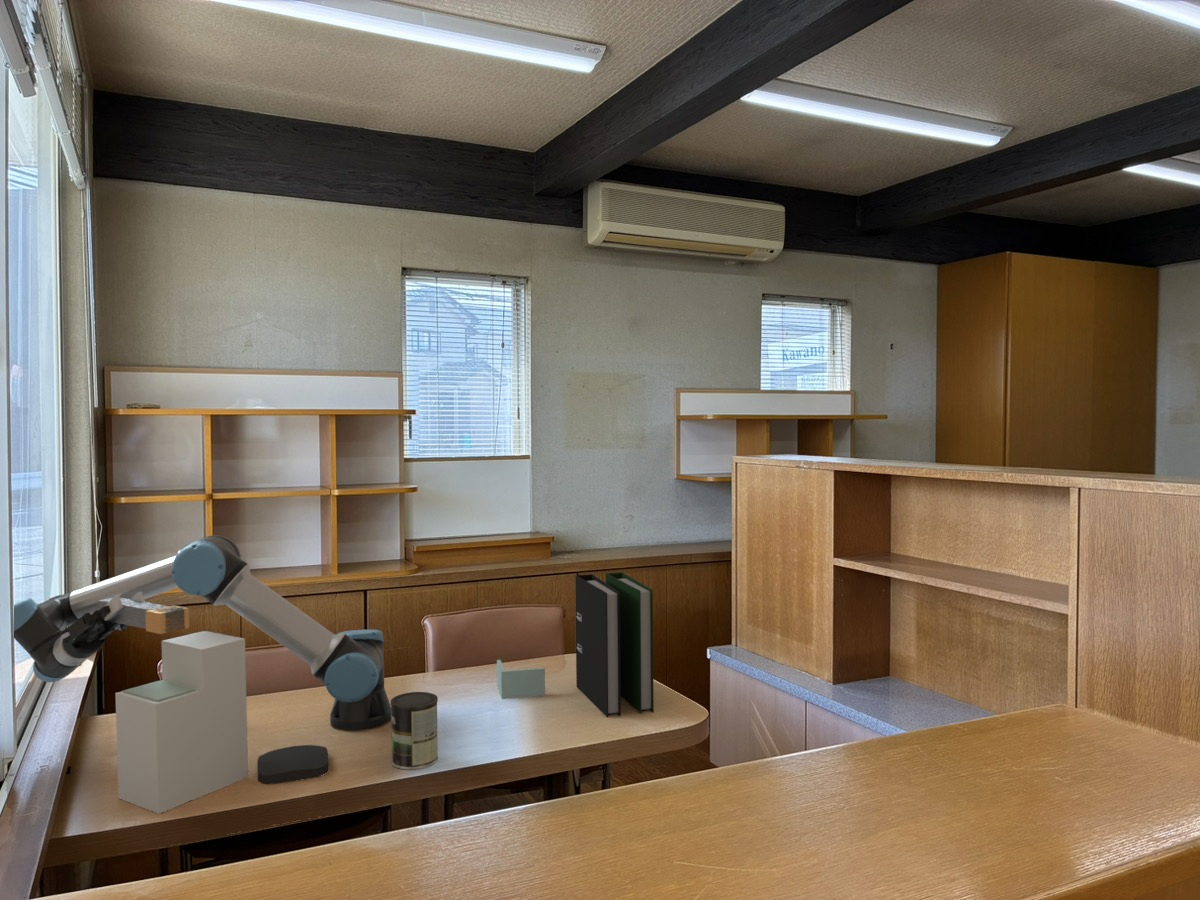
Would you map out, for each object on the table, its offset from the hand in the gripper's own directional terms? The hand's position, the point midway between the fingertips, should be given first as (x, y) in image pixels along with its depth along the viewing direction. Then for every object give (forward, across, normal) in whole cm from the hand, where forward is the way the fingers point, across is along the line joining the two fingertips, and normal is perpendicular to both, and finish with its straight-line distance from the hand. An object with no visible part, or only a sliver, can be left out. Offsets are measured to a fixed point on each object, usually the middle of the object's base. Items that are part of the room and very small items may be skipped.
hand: (130, 599), depth 178 cm
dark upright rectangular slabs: (+30, -99, -63) cm, 121 cm away
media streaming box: (-2, -23, -45) cm, 51 cm away
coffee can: (+16, -40, -55) cm, 70 cm away
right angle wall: (+8, -92, -50) cm, 105 cm away
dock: (-12, -5, -39) cm, 41 cm away
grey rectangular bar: (+1, 0, -6) cm, 6 cm away
